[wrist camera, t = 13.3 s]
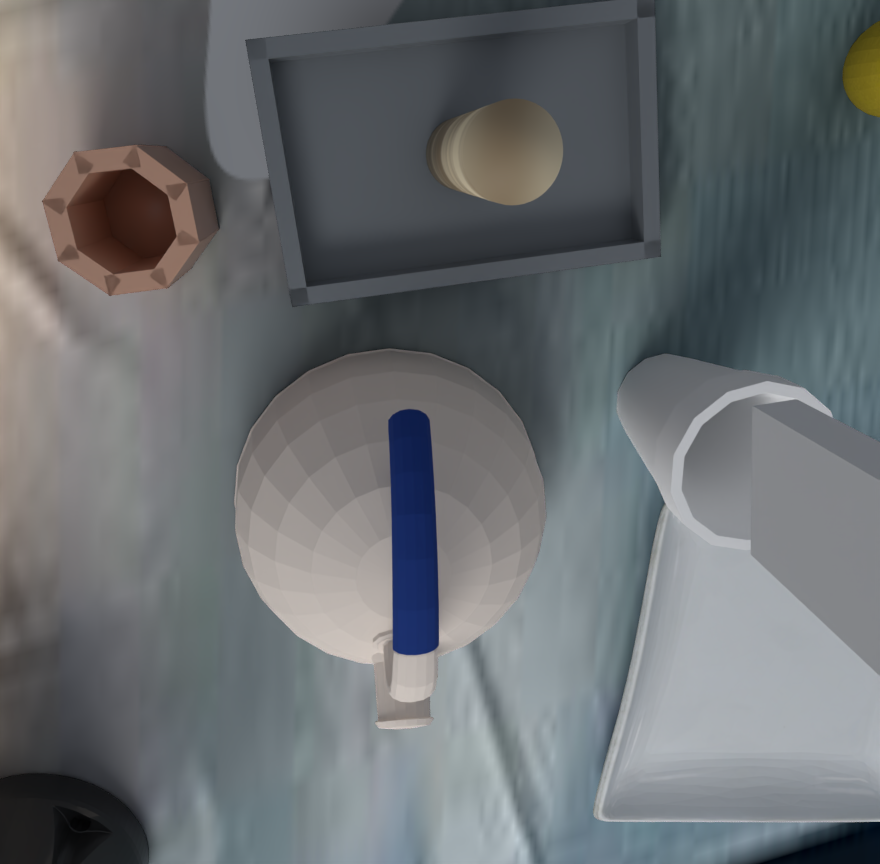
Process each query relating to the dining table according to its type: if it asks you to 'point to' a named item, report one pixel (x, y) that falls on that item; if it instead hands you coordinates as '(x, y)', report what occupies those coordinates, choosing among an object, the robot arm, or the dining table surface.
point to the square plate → (737, 701)
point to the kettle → (390, 515)
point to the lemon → (864, 71)
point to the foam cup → (701, 437)
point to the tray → (421, 111)
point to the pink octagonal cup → (130, 217)
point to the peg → (498, 152)
